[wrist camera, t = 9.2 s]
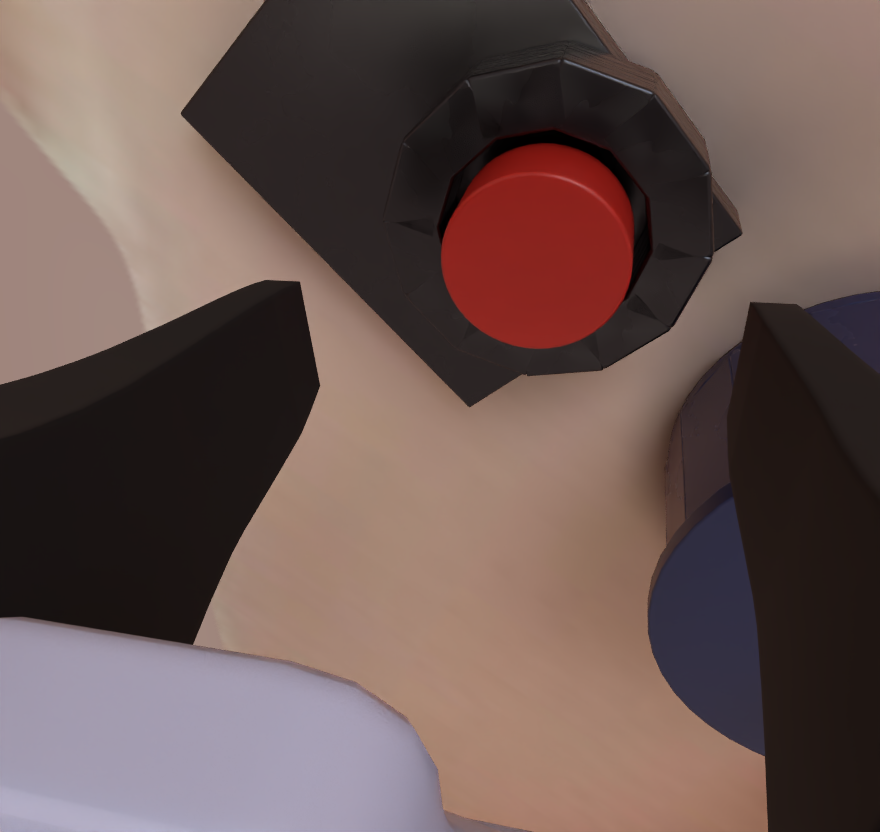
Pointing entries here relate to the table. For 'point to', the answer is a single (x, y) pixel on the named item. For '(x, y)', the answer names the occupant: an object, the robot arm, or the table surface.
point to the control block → (457, 156)
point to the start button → (540, 247)
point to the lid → (709, 622)
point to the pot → (705, 411)
